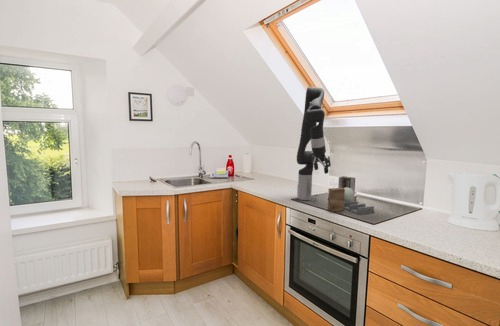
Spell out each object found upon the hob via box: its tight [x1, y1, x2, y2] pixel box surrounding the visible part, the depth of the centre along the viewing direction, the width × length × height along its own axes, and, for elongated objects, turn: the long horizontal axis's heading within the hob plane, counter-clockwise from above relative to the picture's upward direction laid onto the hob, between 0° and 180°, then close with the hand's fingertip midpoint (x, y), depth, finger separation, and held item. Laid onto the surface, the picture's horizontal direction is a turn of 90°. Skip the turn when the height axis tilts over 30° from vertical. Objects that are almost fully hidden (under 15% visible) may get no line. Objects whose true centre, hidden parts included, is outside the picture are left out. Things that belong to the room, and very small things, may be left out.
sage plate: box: [344, 187, 355, 202], centre depth 177 cm, size 1×11×11 cm, turn 113°
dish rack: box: [344, 200, 375, 215], centre depth 172 cm, size 21×12×4 cm, turn 23°
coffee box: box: [337, 176, 356, 202], centre depth 191 cm, size 9×6×16 cm
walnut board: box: [327, 187, 345, 213], centre depth 168 cm, size 4×9×13 cm, turn 113°
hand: (321, 171), depth 163 cm, fingers open, 8 cm apart
